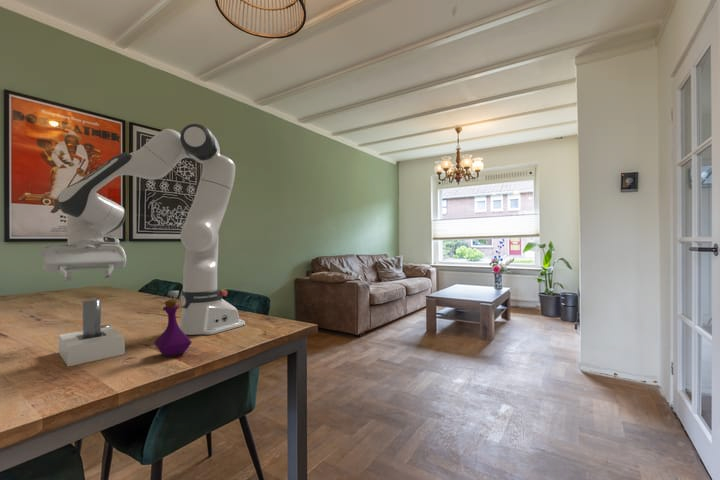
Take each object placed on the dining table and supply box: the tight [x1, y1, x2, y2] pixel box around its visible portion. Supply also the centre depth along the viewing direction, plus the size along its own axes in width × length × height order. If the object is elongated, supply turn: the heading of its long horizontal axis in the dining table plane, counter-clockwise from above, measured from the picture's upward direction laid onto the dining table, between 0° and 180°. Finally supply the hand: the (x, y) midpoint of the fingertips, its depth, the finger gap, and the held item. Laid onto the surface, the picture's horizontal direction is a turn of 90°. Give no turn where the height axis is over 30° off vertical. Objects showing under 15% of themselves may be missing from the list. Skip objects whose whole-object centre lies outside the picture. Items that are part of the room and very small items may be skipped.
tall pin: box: [82, 298, 102, 340], centre depth 93 cm, size 4×4×15 cm
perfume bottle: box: [153, 290, 192, 358], centre depth 92 cm, size 8×8×18 cm
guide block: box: [58, 326, 126, 367], centre depth 93 cm, size 12×16×5 cm
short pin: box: [101, 324, 112, 328], centre depth 105 cm, size 4×4×4 cm
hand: (88, 277), depth 100 cm, fingers open, 8 cm apart
